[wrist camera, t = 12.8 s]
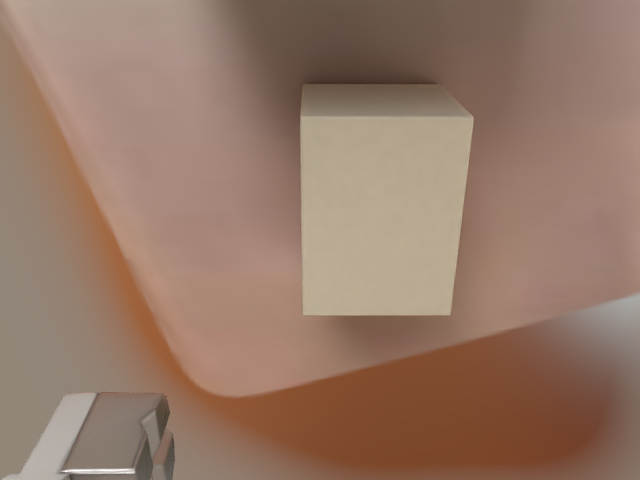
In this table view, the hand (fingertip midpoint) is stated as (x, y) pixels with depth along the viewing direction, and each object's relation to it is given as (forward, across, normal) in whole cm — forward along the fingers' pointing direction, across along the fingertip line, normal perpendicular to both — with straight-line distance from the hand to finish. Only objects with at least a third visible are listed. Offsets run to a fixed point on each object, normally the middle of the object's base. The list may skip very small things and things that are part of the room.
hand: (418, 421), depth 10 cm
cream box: (+13, 0, +1) cm, 13 cm away
